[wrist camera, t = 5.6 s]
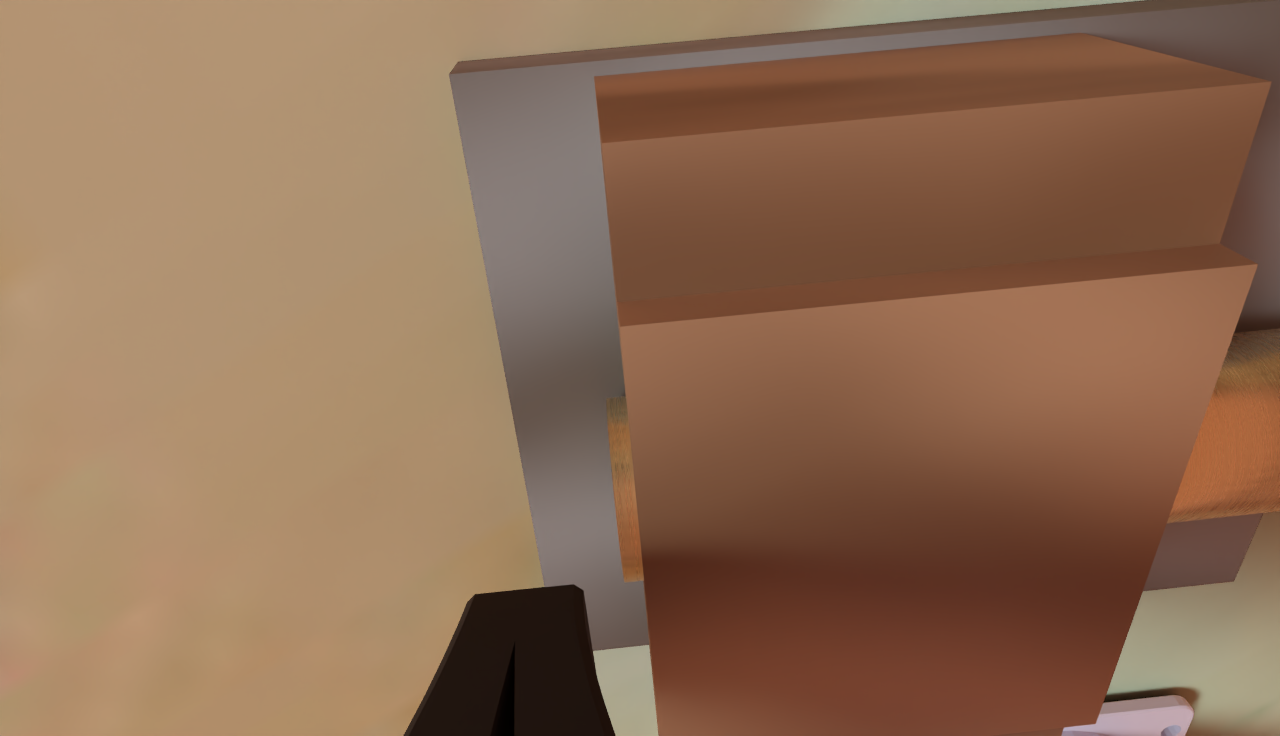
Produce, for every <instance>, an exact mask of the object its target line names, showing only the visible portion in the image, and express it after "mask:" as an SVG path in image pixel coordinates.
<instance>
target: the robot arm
mask: <svg viewBox="0 0 1280 736" xmlns="http://www.w3.org/2000/svg"><path fill="white" fill-rule="evenodd" d="M1193 716H1194V710H1193V709H1192V707H1191V706H1190V705H1189V703H1188V702H1187V701H1186V699H1185V698H1184V697H1181V696H1178V695H1168V696H1159V697H1150V698H1141V699H1132V700H1123V701H1114V702H1105V703H1103V705H1102V708H1101V711H1100V713H1099V716H1098V719H1097V722H1096V724H1091V725H1082V726H1074V727H1065V728H1064V729H1063V732H1062V735H1061V736H1185V734H1186V732H1187V730H1188V728H1189V725H1190V723H1191V721H1192V719H1193ZM404 736H615V733H614V730H613V727H612V724H611V721H610V718H609V715H608V712H607V709H606V706H605V703H604V700H603V696H602V693H601V690H600V686H599V683H598V679H597V675H596V669H595V662H594V656H593V649H592V643H591V636H590V629H589V623H588V616H587V609H586V603H585V596H584V590H582V589H581V588H579V587H577V586H576V585H574V584H570V585H561V586H551V587H541V588H532V589H522V590H512V591H503V592H493V593H483V594H475V595H474V596H473V597H472V598H471V599H470V600H469V601H468V602H467V604H466V607H465V609H464V612H463V614H462V617H461V619H460V621H459V624H458V626H457V628H456V631H455V633H454V635H453V637H452V640H451V642H450V644H449V646H448V648H447V651H446V653H445V655H444V657H443V659H442V661H441V663H440V666H439V668H438V670H437V672H436V674H435V676H434V678H433V680H432V682H431V684H430V686H429V688H428V690H427V692H426V694H425V696H424V698H423V700H422V702H421V704H420V706H419V708H418V709H417V711H416V713H415V715H414V717H413V719H412V721H411V723H410V724H409V726H408V728H407V730H406V732H405V734H404Z"/></svg>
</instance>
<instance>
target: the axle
mask: <svg viewBox="0 0 1280 736" xmlns="http://www.w3.org/2000/svg"><path fill="white" fill-rule="evenodd" d="M606 409H607V424H608V436H609V448H610V459H611V470H612V481H613V491H614V501H615V510H616V520H617V529H618V538H619V547H620V555H621V563H622V570H623V577H624V582H625V583H626V582H635V581H644V575H643V565H642V555H641V544H640V534H639V524H638V513H637V503H636V493H635V482H634V472H633V462H632V451H631V441H630V431H629V421H628V412H627V403H626V396H623V397H614V398H606ZM1276 511H1280V328H1278V329H1268V330H1259V331H1249V332H1240V333H1234V334H1233V337H1232V340H1231V343H1230V345H1229V348H1228V351H1227V354H1226V357H1225V360H1224V362H1223V365H1222V368H1221V371H1220V374H1219V377H1218V379H1217V382H1216V385H1215V388H1214V391H1213V394H1212V396H1211V399H1210V402H1209V405H1208V408H1207V411H1206V413H1205V416H1204V419H1203V422H1202V425H1201V428H1200V430H1199V433H1198V436H1197V439H1196V442H1195V445H1194V447H1193V450H1192V453H1191V456H1190V459H1189V461H1188V464H1187V467H1186V470H1185V473H1184V476H1183V478H1182V481H1181V484H1180V487H1179V490H1178V493H1177V495H1176V498H1175V501H1174V504H1173V507H1172V510H1171V512H1170V515H1169V518H1168V521H1167V523H1175V522H1184V521H1194V520H1203V519H1212V518H1221V517H1230V516H1239V515H1248V514H1258V513H1267V512H1276Z"/></svg>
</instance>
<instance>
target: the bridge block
mask: <svg viewBox="0 0 1280 736" xmlns="http://www.w3.org/2000/svg"><path fill="white" fill-rule="evenodd" d="M449 77H450V82H451V87H452V93H453V98H454V104H455V109H456V114H457V120H458V125H459V130H460V136H461V141H462V146H463V152H464V157H465V162H466V168H467V173H468V178H469V184H470V189H471V195H472V200H473V205H474V211H475V216H476V221H477V227H478V232H479V237H480V243H481V248H482V253H483V259H484V264H485V270H486V275H487V280H488V286H489V291H490V296H491V302H492V307H493V312H494V318H495V323H496V328H497V334H498V339H499V344H500V350H501V355H502V361H503V366H504V371H505V377H506V382H507V387H508V393H509V398H510V403H511V409H512V414H513V419H514V425H515V430H516V435H517V441H518V446H519V452H520V457H521V462H522V468H523V473H524V478H525V484H526V489H527V494H528V500H529V505H530V510H531V516H532V521H533V527H534V532H535V537H536V543H537V548H538V553H539V559H540V564H541V569H542V575H543V580H544V585H545V587H551V586H561V585H570V584H574V585H576V586H577V587H579V588H581V589H582V590H584V596H585V603H586V609H587V616H588V623H589V629H590V636H591V643H592V649H593V651H595V650H605V649H614V648H623V647H632V646H641V645H649V646H650V656H651V665H652V675H653V685H654V695H655V705H656V714H657V724H658V734H659V736H1061V735H1062V732H1063V729H1064V728H1065V727H1074V726H1082V725H1091V724H1096V722H1097V719H1098V716H1099V713H1100V711H1101V708H1102V705H1103V702H1104V699H1105V696H1106V694H1107V691H1108V688H1109V685H1110V682H1111V679H1112V677H1113V674H1114V671H1115V668H1116V665H1117V662H1118V660H1119V657H1120V654H1121V651H1122V648H1123V645H1124V643H1125V640H1126V637H1127V634H1128V631H1129V628H1130V626H1131V623H1132V620H1133V617H1134V614H1135V611H1136V609H1137V606H1138V603H1139V600H1140V597H1141V594H1142V592H1143V591H1149V590H1158V589H1167V588H1177V587H1186V586H1195V585H1204V584H1214V583H1223V582H1232V581H1234V580H1235V578H1236V575H1237V573H1238V571H1239V568H1240V566H1241V564H1242V561H1243V559H1244V557H1245V554H1246V552H1247V550H1248V548H1249V545H1250V543H1251V541H1252V538H1253V536H1254V534H1255V531H1256V529H1257V527H1258V524H1259V522H1260V520H1261V517H1262V515H1263V513H1258V514H1248V515H1239V516H1230V517H1221V518H1212V519H1203V520H1194V521H1184V522H1175V523H1167V521H1168V518H1169V515H1170V512H1171V510H1172V507H1173V504H1174V501H1175V498H1176V495H1177V493H1178V490H1179V487H1180V484H1181V481H1182V478H1183V476H1184V473H1185V470H1186V467H1187V464H1188V461H1189V459H1190V456H1191V453H1192V450H1193V447H1194V445H1195V442H1196V439H1197V436H1198V433H1199V430H1200V428H1201V425H1202V422H1203V419H1204V416H1205V413H1206V411H1207V408H1208V405H1209V402H1210V399H1211V396H1212V394H1213V391H1214V388H1215V385H1216V382H1217V379H1218V377H1219V374H1220V371H1221V368H1222V365H1223V362H1224V360H1225V357H1226V354H1227V351H1228V348H1229V345H1230V343H1231V340H1232V337H1233V334H1234V333H1240V332H1249V331H1259V330H1268V329H1278V328H1280V0H1146V1H1135V2H1124V3H1113V4H1102V5H1090V6H1079V7H1068V8H1057V9H1045V10H1034V11H1023V12H1012V13H1001V14H989V15H978V16H967V17H956V18H944V19H933V20H922V21H911V22H900V23H888V24H877V25H866V26H855V27H843V28H832V29H821V30H810V31H799V32H787V33H776V34H765V35H754V36H742V37H731V38H720V39H709V40H697V41H686V42H675V43H664V44H653V45H641V46H630V47H619V48H608V49H596V50H585V51H574V52H563V53H552V54H540V55H529V56H518V57H507V58H495V59H484V60H473V61H462V62H458V63H457V64H456V65H455V67H454V68H453V70H452V71H451V72H450V74H449ZM623 396H626V403H627V412H628V421H629V431H630V441H631V451H632V462H633V472H634V482H635V493H636V503H637V513H638V524H639V534H640V544H641V555H642V565H643V575H644V581H635V582H626V583H625V582H624V577H623V570H622V563H621V555H620V547H619V538H618V529H617V520H616V510H615V501H614V491H613V481H612V470H611V459H610V448H609V436H608V424H607V409H606V398H614V397H623Z"/></svg>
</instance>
